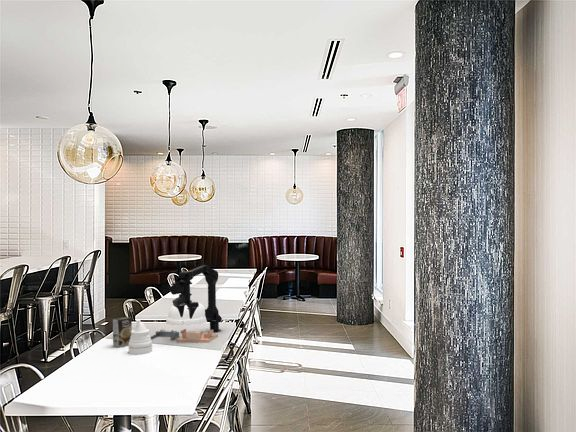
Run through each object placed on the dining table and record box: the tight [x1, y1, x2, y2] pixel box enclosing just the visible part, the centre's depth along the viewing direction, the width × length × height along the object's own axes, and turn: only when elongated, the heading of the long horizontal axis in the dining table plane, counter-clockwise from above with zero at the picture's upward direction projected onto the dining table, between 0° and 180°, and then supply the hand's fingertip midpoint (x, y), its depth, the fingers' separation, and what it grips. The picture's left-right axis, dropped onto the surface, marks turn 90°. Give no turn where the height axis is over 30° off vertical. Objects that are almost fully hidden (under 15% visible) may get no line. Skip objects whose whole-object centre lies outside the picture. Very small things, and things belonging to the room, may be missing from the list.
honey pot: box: [128, 319, 153, 356], centre depth 312 cm, size 13×13×18 cm
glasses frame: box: [150, 328, 180, 341], centre depth 346 cm, size 10×15×4 cm
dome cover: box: [165, 300, 208, 327], centre depth 399 cm, size 32×30×14 cm
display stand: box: [176, 328, 219, 343], centre depth 341 cm, size 16×20×6 cm
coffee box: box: [112, 316, 133, 349], centre depth 328 cm, size 9×6×16 cm
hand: (186, 317), depth 340 cm, fingers open, 9 cm apart
